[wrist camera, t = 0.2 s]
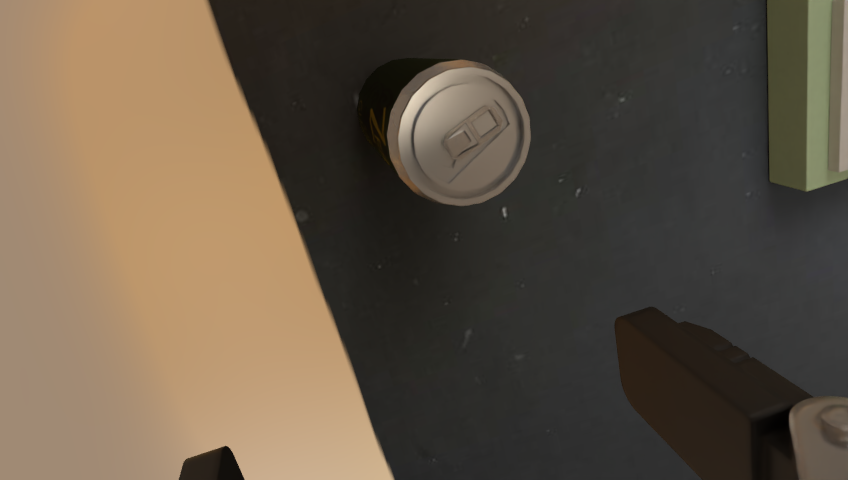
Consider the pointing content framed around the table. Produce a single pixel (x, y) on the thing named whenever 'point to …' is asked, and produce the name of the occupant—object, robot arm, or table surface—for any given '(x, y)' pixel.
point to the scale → (807, 92)
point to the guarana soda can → (446, 127)
